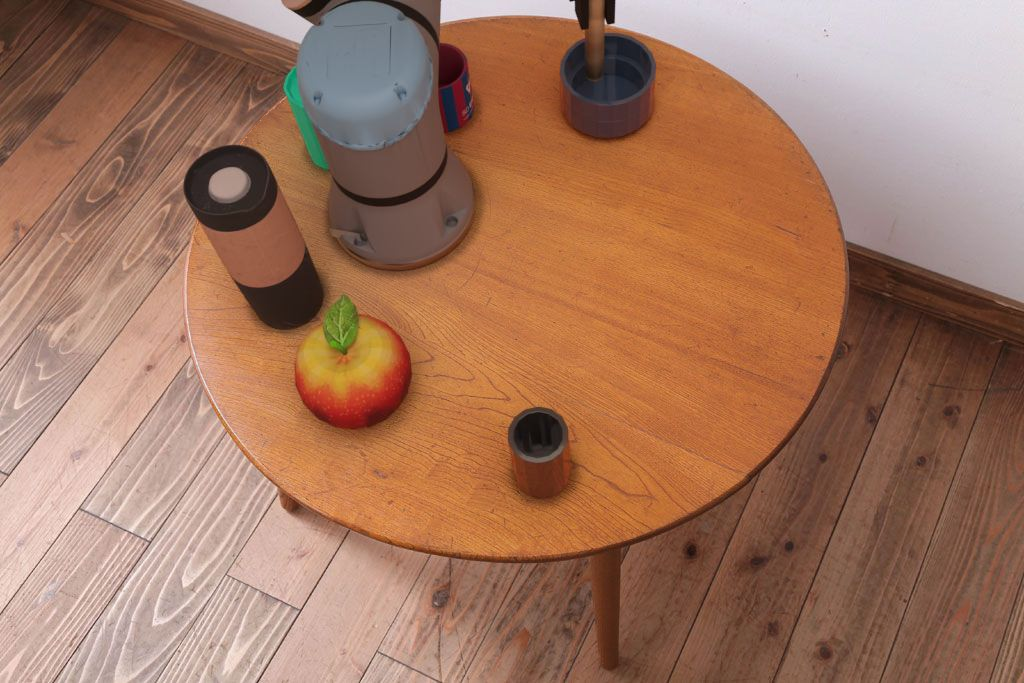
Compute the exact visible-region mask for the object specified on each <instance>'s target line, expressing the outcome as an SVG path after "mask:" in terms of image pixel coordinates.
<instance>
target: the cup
mask: <svg viewBox="0 0 1024 683" xmlns="http://www.w3.org/2000/svg"><path fill="white" fill-rule="evenodd" d="M438 99H439V109H440V114H441V119H442V124H443V129H444V133H451V132H453V131H456V130H458V129H460V128H462V127H463V126H465V125H466V124H467V123H468V122H469V121H470V120H471V118H472V116H473V115H474V111H475V101H474V95H473V89H472V83H471V78H470V70H469V64H468V58H467V56H466V54H465V53H464V52H463V51H462V50H461V49H460V48H459V47H457V46H455V45H453V44H450V43H446V42H440V46H439V70H438Z"/></svg>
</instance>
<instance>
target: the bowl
mask: <svg viewBox="0 0 1024 683" xmlns="http://www.w3.org/2000/svg"><path fill="white" fill-rule="evenodd" d="M656 77H657V62H656V60H655V56H654V54H653V52H652V51H651V50H650V49H649V47H648V46H647V45H646V44H645V43H644V42H642V41H640V40H639V39H637V38H635V37H634V36H632V35H627V34H624V33H620V32H605V37H604V74H603V77H602V79H601V80H600V81H598V82H590V81H589V80H588V79H587V78H586V76H585V37H583V38H581V39H579V40H577V41H575V42H574V43H573V44H572V45H571V46H570V47H569V48H568V49H566V51H565V53H564V54H563V56H562V58H561V60H560V64H559V90H560V107H561V110H562V114H563V116H564V118H565V119H566V120H567V122H568V123H569V124H570V125H571V127H573V128H574V129H576V130H577V131H579V132H581V133H582V134H585V135H589V136H592V137H595V138H604V139H605V138H606V139H607V138H608V139H613V138H617V137H622V136H627V135H629V134H631V133H633V132H634V131H637V130H639V129H640V128H641V127H642V126H643V125H644V124H645V123H646V122H647V121H648V120H649V118H650V116H651V115H652V113H653V110H654V105H655V104H654V103H655V92H656V91H655V89H656Z"/></svg>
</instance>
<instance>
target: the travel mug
mask: <svg viewBox="0 0 1024 683" xmlns="http://www.w3.org/2000/svg"><path fill="white" fill-rule="evenodd" d="M182 190H183V195H184V199H185V201H186V202H187V204H188V206H189V208H190V210H191V211H192V213H193V214H194V216H195V218H196V220H197V222H198V223H199V225H200V226H201V229H202V230H203V232H204V234H205V235H206V237H207V239H208V241H209V242H210V244H211V246H212V247H213V249H214V251H215V253H216V255H217V256H218V257H219V260H220V261H221V263H222V265H223V266H224V268H225V270H226V271H227V273H228V275H229V276H230V278H231V280H232V281H233V283H235V285H236V286H237V288H238V289H239V291H240V293H241V294H242V295H243V297H244V299H245V300H246V302H247V303H248V304H249V306H250V307H251V309H252V311H253V312H254V313H255V315H256V316H257V317H258V319H259V320H260V322H262V323H263V324H265V325H266V326H268V327H270V328H273V329H275V330H282V331H283V330H284V331H285V330H293V329H297V328H299V327H302V326H304V325H306V324H308V323H309V322H310V321H311V320H313V319H314V318H315V317H316V316H317V314H318V313H319V311H320V309H321V308H322V305H323V302H324V288H323V285H322V282H321V279H320V277H319V273H318V272H317V268H316V266H315V263H314V261H313V258H312V256H311V254H310V252H309V248H308V246H307V244H306V240H305V239H304V236H303V234H302V232H301V230H300V227H299V225H298V224H297V222H296V219H295V217H294V215H293V213H292V211H291V209H290V206H289V205H288V202H287V200H286V198H285V195H284V193H283V191H282V189H281V188H280V185H279V183H278V181H277V178H276V177H275V175H274V173H273V171H272V168H271V166H270V164H269V163H268V161H267V159H266V158H265V156H264V155H263V154H262V153H260V152H259V151H258V150H256V149H255V148H252V147H250V146H247V145H243V144H227V145H225V144H224V145H220V146H217V147H214V148H213V149H210V150H207V151H206V152H204V153H203V154H201V155H200V156H198V157H197V158H196V159H195V160H194V161H193V162H192V164H191V165H190V166H189V168H187V171H186V173H185V175H184V178H183V185H182Z"/></svg>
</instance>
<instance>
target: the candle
mask: <svg viewBox="0 0 1024 683" xmlns="http://www.w3.org/2000/svg"><path fill="white" fill-rule="evenodd" d="M283 91H284V94H285V96H286V98H287V101H288V103H289V106H290V108H291V111H292V114H293V116H294V119H295V121H296V124H297V126H298V129H299V131H300V134H301V137H302V139H303V142H304V144H305V147H306V149H307V152H308V154H309V156H310V159H311V160H312V162H313V164H314V165H316V166H317V167H319V168H321V169H323V170H324V171H330V170H329V167H328V165H327V162H326V160H325V157H324V154H323V152H322V149H321V146H320V144H319V141H318V139H317V136H316V133H315V131H314V128H313V126H312V123H311V120H310V118H309V117H308V115H307V113H306V110H305V109H304V107H303V103H302V98H301V96H300V93H299V87H298V79H297V71H296V65H294V66H293V68H291V70H290V71H289V72H288V74H287V75H286V76H285V80H284V84H283Z"/></svg>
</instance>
